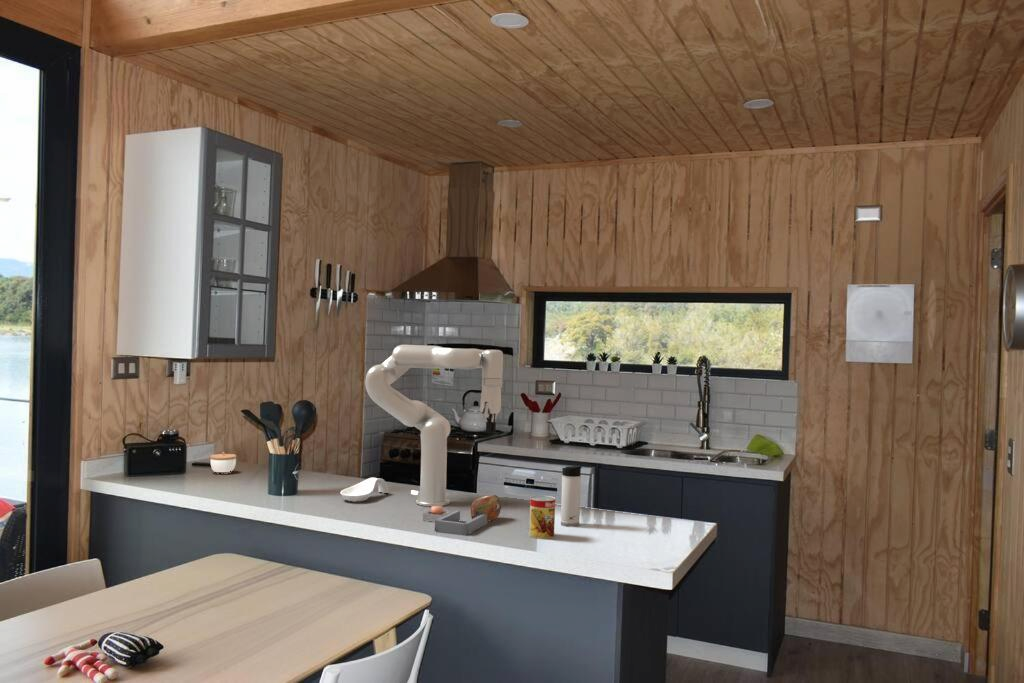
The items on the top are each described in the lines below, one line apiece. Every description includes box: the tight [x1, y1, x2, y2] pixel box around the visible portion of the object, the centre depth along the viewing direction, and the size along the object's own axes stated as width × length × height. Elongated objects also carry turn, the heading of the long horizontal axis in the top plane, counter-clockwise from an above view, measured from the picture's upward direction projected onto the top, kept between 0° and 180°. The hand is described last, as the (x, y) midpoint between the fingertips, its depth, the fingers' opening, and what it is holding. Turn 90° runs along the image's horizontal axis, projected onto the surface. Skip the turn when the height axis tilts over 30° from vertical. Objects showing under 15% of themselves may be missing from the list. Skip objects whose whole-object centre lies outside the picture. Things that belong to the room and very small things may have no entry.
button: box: [430, 506, 444, 515], centre depth 274 cm, size 4×4×2 cm
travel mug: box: [560, 465, 583, 527], centre depth 272 cm, size 6×7×20 cm
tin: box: [470, 494, 502, 522], centre depth 274 cm, size 15×3×8 cm, turn 148°
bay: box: [434, 510, 488, 536], centre depth 264 cm, size 11×17×4 cm, turn 160°
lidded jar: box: [209, 451, 237, 473], centre depth 352 cm, size 11×11×9 cm
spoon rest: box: [340, 477, 390, 502], centre depth 308 cm, size 24×12×7 cm, turn 155°
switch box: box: [422, 509, 452, 523], centre depth 274 cm, size 7×7×2 cm
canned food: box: [529, 495, 556, 540], centre depth 256 cm, size 8×8×12 cm
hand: (490, 432), depth 300 cm, fingers closed
